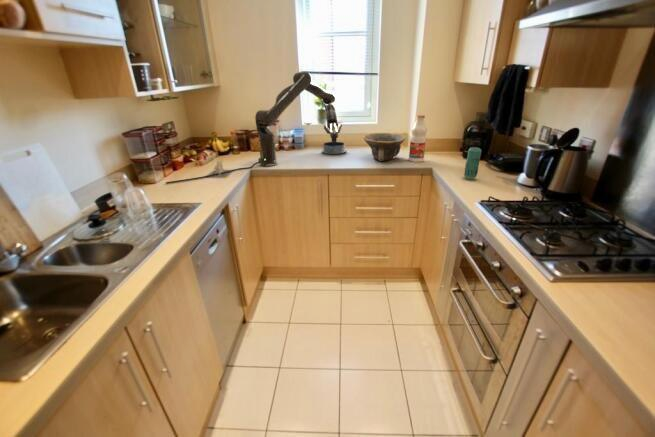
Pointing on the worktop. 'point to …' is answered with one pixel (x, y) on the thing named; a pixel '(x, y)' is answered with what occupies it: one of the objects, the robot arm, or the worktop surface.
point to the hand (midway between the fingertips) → (334, 137)
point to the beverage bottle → (473, 160)
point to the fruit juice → (418, 140)
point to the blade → (334, 137)
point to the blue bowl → (334, 148)
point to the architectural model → (219, 170)
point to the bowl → (384, 145)
